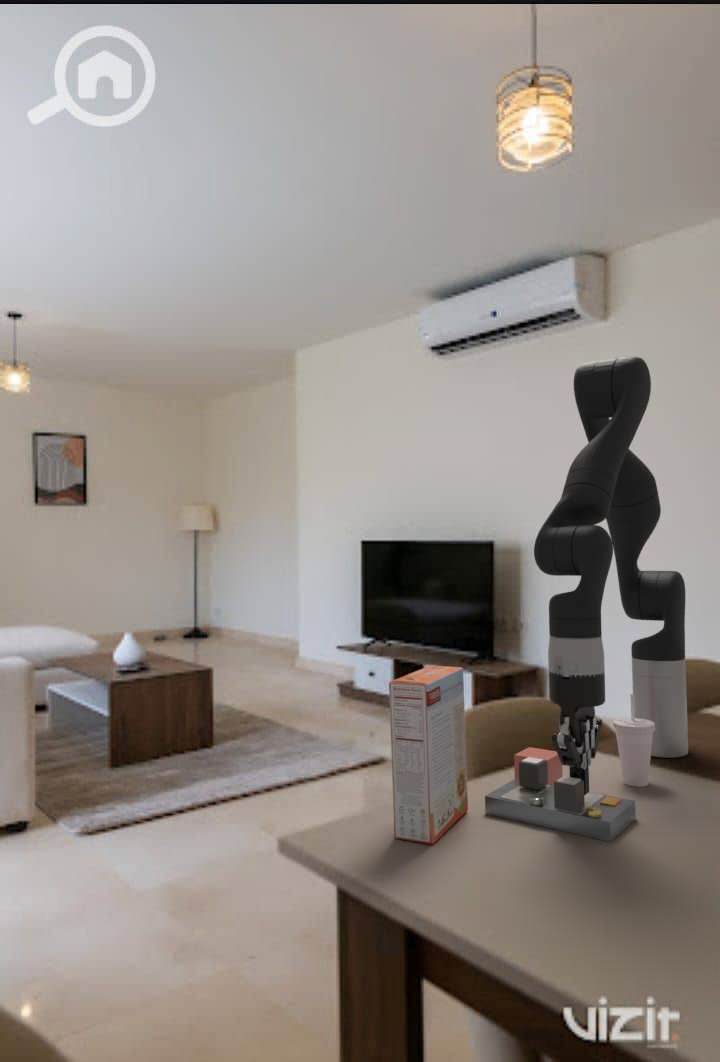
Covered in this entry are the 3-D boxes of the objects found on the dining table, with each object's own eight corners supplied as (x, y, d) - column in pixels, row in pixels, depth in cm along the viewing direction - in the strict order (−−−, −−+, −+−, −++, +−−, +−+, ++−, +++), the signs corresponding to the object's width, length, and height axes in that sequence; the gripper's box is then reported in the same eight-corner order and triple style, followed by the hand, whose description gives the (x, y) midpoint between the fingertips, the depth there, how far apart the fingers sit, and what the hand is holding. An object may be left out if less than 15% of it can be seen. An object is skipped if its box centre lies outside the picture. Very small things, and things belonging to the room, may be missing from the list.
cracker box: (430, 806, 110) (427, 664, 111) (469, 811, 107) (466, 666, 108) (389, 839, 98) (386, 679, 98) (432, 846, 95) (429, 682, 95)
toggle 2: (563, 802, 102) (562, 775, 102) (584, 806, 100) (583, 778, 101) (554, 808, 100) (553, 780, 100) (576, 812, 98) (575, 784, 98)
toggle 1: (528, 780, 112) (527, 756, 112) (547, 784, 110) (546, 759, 110) (519, 786, 110) (518, 760, 110) (538, 789, 108) (537, 764, 108)
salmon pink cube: (530, 778, 122) (529, 747, 122) (562, 784, 119) (561, 752, 119) (515, 787, 118) (514, 754, 118) (548, 793, 114) (547, 760, 115)
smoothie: (650, 777, 122) (648, 691, 122) (662, 789, 115) (659, 699, 116) (610, 776, 122) (607, 691, 123) (619, 789, 116) (617, 699, 116)
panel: (516, 794, 114) (515, 773, 114) (635, 818, 103) (634, 794, 103) (485, 813, 106) (484, 790, 106) (610, 841, 95) (610, 815, 95)
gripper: (568, 660, 111) (571, 777, 111) (530, 673, 101) (534, 802, 100) (619, 664, 107) (622, 786, 106) (584, 677, 96) (588, 813, 96)
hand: (579, 793), depth 103 cm, fingers closed
